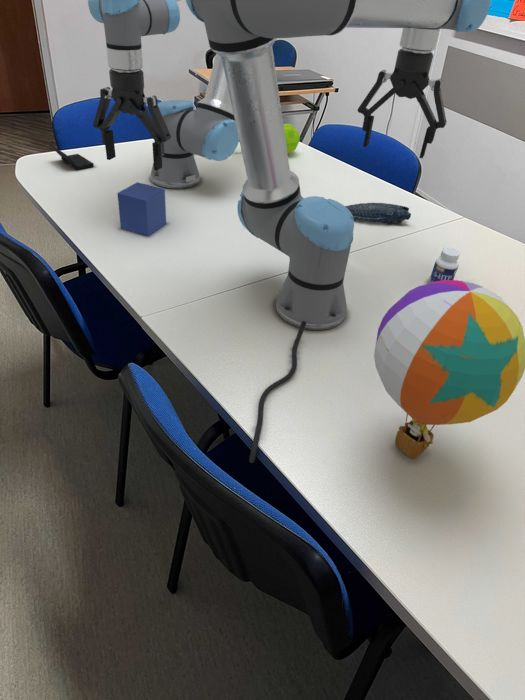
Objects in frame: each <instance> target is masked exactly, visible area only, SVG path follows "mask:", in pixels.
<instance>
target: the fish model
mask: <svg viewBox="0 0 525 700" xmlns="http://www.w3.org/2000/svg"><path fill="white" fill-rule="evenodd" d="M344 206H345V207H346V208H347V209H348V210H349V211H350V212H351V214H352V216H353V218H354V221H359V222H366V223H382V224H386V225H391V224H393V223H398V224H402V222H403V221H408V220H410V218H411V216H412V213H410V211H409V210H410V207H408V206H404V205H399V204H393V203H386V202H385V203H384V202H365V203H364V202H363V203H361V202H360V203H355V204H349V205H344Z"/></svg>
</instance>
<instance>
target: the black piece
mask: <svg viewBox="0 0 525 700" xmlns="http://www.w3.org/2000/svg"><path fill="white" fill-rule="evenodd" d="M49 147H51V149H53V151H55V152H56V154H58V155H59V156H60V159H61V160H62V162H64V163H66V164H68V165H70V166H71V167H72V168H73V169H75V170H77V171H79V170H82V169H88V168H93V167H94V165H95V164H94V162H92V161H90V160H89V159H87V158H85V157H84V156H82V155H81V154H79V153H74V154H68V155H67V154H66V153H65V152H63V151H61V150H60V149H58V148H57V147H55V146H54V145H52V144H51V143H50V144H49Z"/></svg>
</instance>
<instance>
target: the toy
mask: <svg viewBox="0 0 525 700" xmlns="http://www.w3.org/2000/svg"><path fill="white" fill-rule="evenodd" d="M373 358H374V359H373V360H374V367H375V369H376V371H377V374H378V376H379V379H380V381H381V383H382V385H383V388H384V390H385V392H386V393H387V394H388V395H389V396H390V398H391V399H392V400H393V401H394V402H395V404H396V405H397V406H398V407H400V408H401V409H402V410H403V411H404V412H405V413H406V417H405V422H404V425H400V426H398V431H397V432H396V435H395V440H394V446H395V447H396V449H398V450H399V451H400V452H401V453H402V454H404V455H406V456H407V457H408V458H409V459H410V460H416V459H417V458H418V457H419V456H421V454H423V453H424V452H425V451H427V449H428V448H429V447H430V445H433V443H434V442H433V440H434V438H435V437H434V433H433V432H432V430H433V429H434V427H435V426H444V425H445V426H446V425H458V424H466V423H472V422H474V421H475V420H478V419H480V418H482V417H484V416H486V415H489V414H491V413H493V412H495V411H497V410H498V409H500V408H501V407H502V406H503V405H504V404H506V403H507V402H508V400H509V399H510V397H511V396H512V394H513V393H514V391H515V390H516V388H517V387H518V385H519V383H520V382H521V380H522V379H523V376H524V373H525V334H524V329H523V325H522V323H521V321H520V319H519V317H518V315H517V313H516V312H515V311H513V309H512V308H511V307H510V305H508V304H507V302H506V301H505V300H504V299H503V298H502V297H501V296H500V295H498V294H497V293H495V292H493V291H492V290H490V289H488V288H486V287H484V286H482V285H479V284H476V283H474V282H470V281H465V280H458V279H456V280H455V279H453V280H441V281H436V282H432V283H429V282H428V283H426V284H422V285H419V286H417V287H414V288H413V289H410V290H409V291H408V292H407V293H405V294H404V295H403V296H402V297H401V298H400V299H398V300H397V301H396V302H395V303H394V304H393V305H392V306H391V307H389V309H388V310H387V311H386V313H385V314H384V316H383V317H382V319H381V321H380V324H379V326H378V329H377V335H376V340H375V347H374V353H373ZM408 417H410V418H411V420H410V421H409V422H408ZM428 426H432V427H431V428H430V429H428Z"/></svg>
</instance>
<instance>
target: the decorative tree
mask: <svg viewBox="0 0 525 700" xmlns="http://www.w3.org/2000/svg"><path fill="white" fill-rule="evenodd" d="M283 126H284V133H285V140H286V147H287V154H288V155H289V154H291V153H293V152H295V151H296V150H297V148H298V145H299V143H300V140H301V138H300V137H301V136H300V132H299V131H298V129H297V128H296V127H295V126H294V125H292V123H283ZM238 143H240V141H239V142H238Z"/></svg>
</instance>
